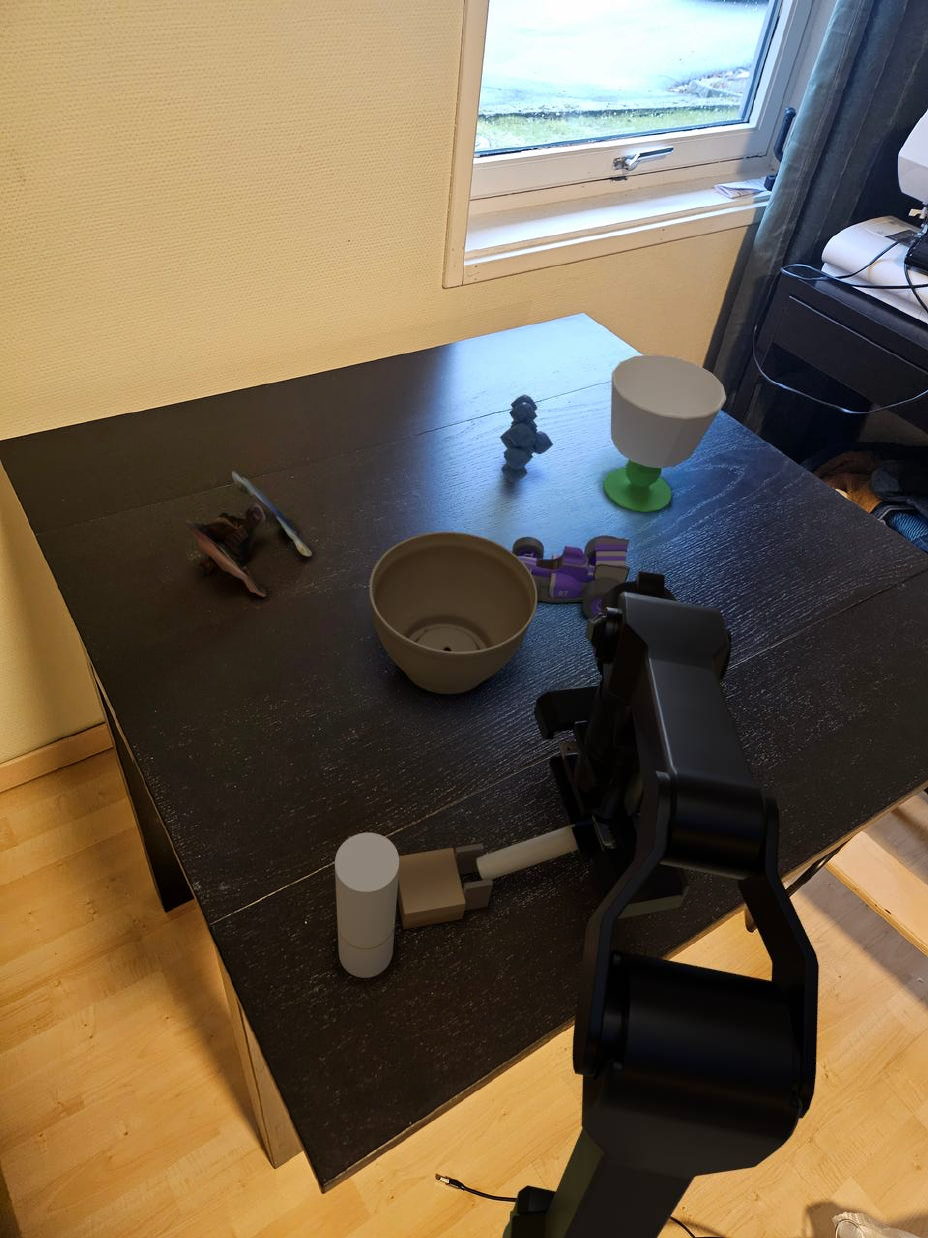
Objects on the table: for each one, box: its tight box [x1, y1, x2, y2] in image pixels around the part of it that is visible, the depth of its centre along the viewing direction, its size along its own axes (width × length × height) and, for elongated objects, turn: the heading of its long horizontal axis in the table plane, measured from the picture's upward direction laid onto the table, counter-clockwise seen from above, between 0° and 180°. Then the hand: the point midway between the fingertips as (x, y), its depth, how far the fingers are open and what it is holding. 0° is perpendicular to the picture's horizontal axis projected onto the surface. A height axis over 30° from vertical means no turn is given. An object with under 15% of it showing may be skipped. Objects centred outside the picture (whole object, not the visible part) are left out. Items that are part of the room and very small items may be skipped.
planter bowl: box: [368, 531, 538, 695], centre depth 86 cm, size 16×16×11 cm
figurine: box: [184, 471, 313, 598], centre depth 95 cm, size 15×9×13 cm
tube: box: [334, 832, 400, 979], centre depth 63 cm, size 4×4×15 cm
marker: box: [476, 817, 594, 881], centre depth 70 cm, size 2×10×2 cm, turn 102°
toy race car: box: [511, 534, 631, 619], centre depth 96 cm, size 10×15×6 cm, turn 83°
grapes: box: [499, 394, 554, 484], centre depth 107 cm, size 12×7×12 cm, turn 174°
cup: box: [603, 353, 727, 513], centre depth 107 cm, size 14×14×16 cm
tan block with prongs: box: [397, 842, 494, 930], centre depth 71 cm, size 5×7×4 cm
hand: (584, 845), depth 71 cm, fingers closed on marker, 2 cm apart
